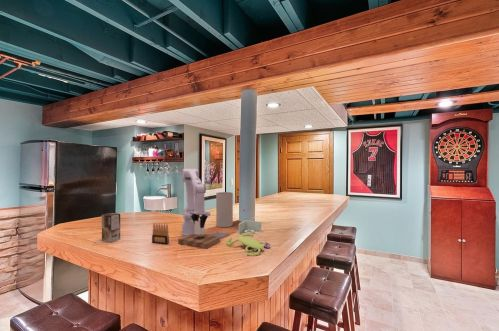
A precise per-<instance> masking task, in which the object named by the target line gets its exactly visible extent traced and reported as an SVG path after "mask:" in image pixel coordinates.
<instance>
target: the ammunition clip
mask: <svg viewBox="0 0 499 331" xmlns="http://www.w3.org/2000/svg"><path fill="white" fill-rule="evenodd" d="M151 244H156V245H157V244H158V245H167V246H168V245H169V244H170V234H169V225H168V223H166V224H165V223H164V224H163V223H157V222H156V223H155V222H153V224H152V235H151Z"/></svg>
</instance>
